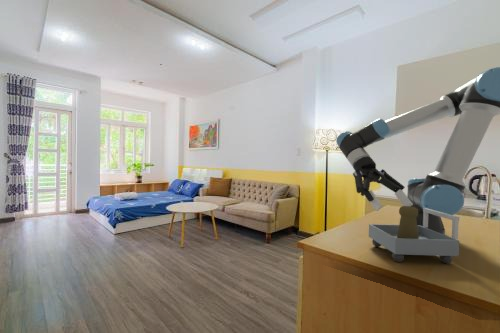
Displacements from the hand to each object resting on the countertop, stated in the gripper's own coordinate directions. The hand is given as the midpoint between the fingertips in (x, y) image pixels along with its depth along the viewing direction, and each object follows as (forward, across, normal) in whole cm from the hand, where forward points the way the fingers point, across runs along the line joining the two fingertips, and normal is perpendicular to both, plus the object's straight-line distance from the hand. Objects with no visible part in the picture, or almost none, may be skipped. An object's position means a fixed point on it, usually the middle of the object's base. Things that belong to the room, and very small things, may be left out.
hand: (394, 207), depth 78 cm
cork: (+10, -2, -5) cm, 11 cm away
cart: (+13, -2, -8) cm, 15 cm away
